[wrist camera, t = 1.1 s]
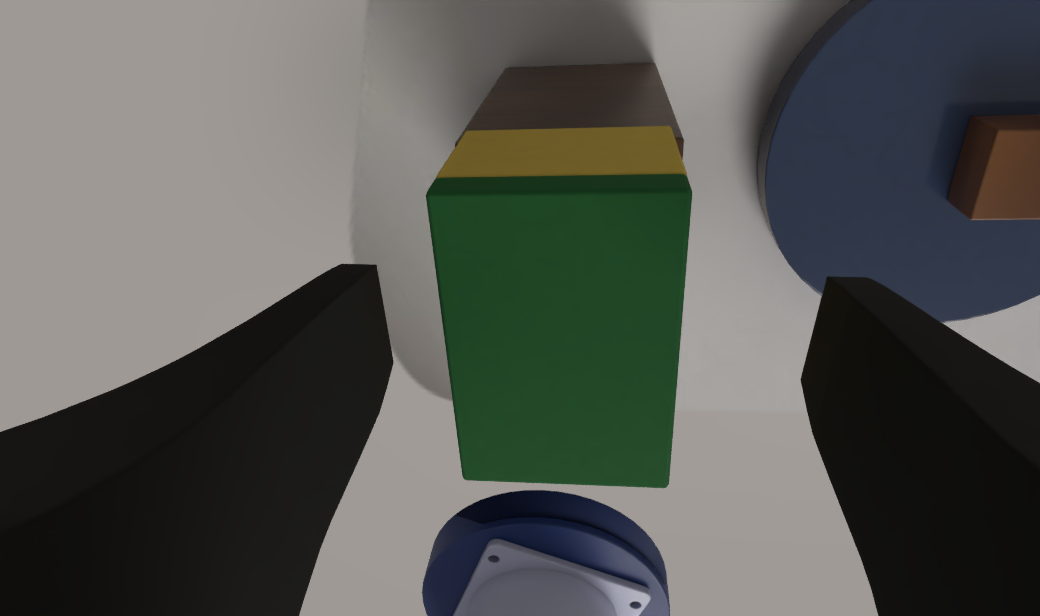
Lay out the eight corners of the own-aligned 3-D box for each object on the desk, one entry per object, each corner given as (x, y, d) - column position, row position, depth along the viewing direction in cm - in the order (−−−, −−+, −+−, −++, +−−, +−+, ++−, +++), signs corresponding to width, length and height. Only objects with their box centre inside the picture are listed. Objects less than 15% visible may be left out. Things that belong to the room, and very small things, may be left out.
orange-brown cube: (946, 201, 19) (970, 220, 18) (969, 115, 18) (997, 130, 17) (1038, 200, 19) (1069, 220, 18) (1068, 113, 18) (1104, 127, 17)
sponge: (488, 376, 16) (462, 481, 13) (465, 129, 13) (423, 192, 10) (656, 380, 16) (668, 490, 13) (671, 125, 13) (693, 188, 10)
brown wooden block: (515, 234, 23) (477, 368, 16) (505, 67, 20) (453, 142, 13) (647, 233, 22) (667, 372, 15) (655, 62, 20) (684, 137, 13)
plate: (738, 305, 23) (744, 322, 22) (784, -51, 18) (795, -49, 17) (1080, 307, 22) (1104, 326, 21) (1243, -76, 16) (1286, -76, 15)
